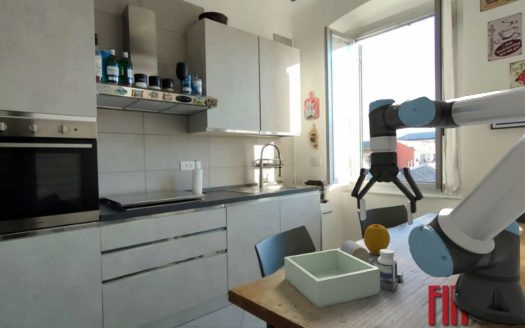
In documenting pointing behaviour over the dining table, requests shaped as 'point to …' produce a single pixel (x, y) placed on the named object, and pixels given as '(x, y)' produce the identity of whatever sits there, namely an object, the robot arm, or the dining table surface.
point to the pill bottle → (388, 265)
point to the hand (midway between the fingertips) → (385, 221)
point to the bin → (331, 277)
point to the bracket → (390, 282)
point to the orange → (376, 238)
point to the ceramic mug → (356, 251)
